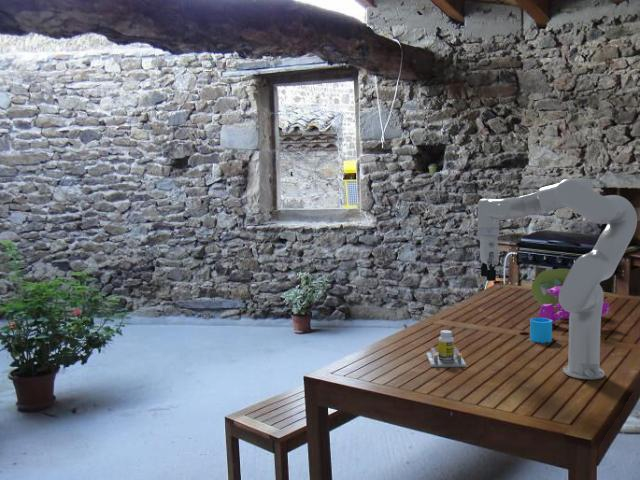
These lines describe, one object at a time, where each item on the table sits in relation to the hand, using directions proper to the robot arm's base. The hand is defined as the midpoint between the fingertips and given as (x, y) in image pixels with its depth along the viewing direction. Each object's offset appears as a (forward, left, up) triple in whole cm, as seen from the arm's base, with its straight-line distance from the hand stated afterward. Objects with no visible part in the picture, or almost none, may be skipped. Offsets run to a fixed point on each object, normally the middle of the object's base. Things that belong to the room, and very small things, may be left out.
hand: (488, 278), depth 221 cm
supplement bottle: (-9, +17, -28) cm, 33 cm away
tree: (+49, -47, -29) cm, 73 cm away
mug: (+19, -26, -29) cm, 43 cm away
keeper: (-9, +17, -28) cm, 34 cm away
